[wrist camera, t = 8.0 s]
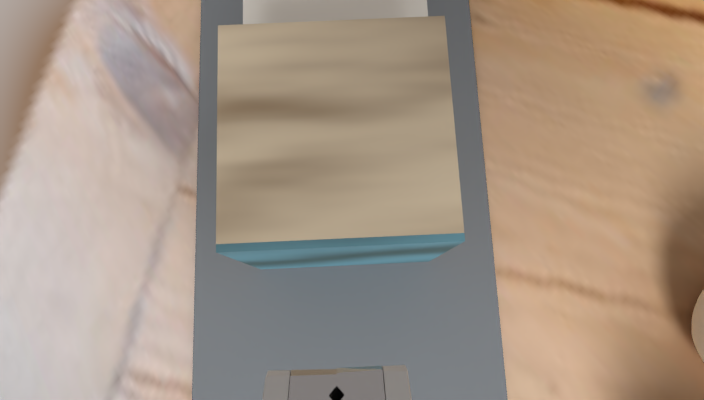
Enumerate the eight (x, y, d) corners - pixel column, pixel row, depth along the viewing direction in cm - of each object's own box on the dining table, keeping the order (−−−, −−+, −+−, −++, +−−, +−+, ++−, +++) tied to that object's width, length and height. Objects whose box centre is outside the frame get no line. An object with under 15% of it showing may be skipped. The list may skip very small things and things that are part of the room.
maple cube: (464, 241, 18) (444, 15, 20) (215, 252, 18) (217, 25, 20) (428, 261, 27) (416, 103, 29) (260, 269, 27) (259, 110, 29)
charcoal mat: (513, 481, 25) (515, 483, 25) (191, 494, 25) (189, 497, 25) (459, -77, 32) (460, -80, 31) (204, -67, 32) (202, -71, 31)
